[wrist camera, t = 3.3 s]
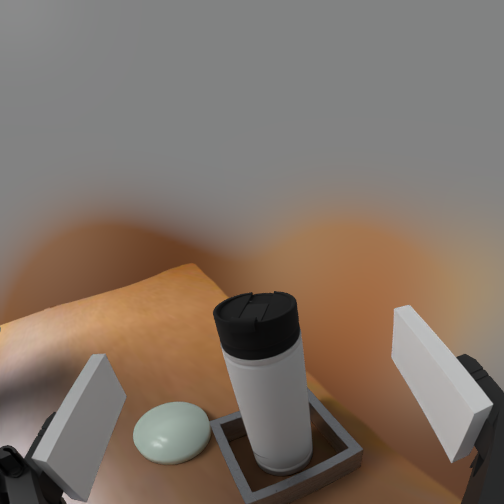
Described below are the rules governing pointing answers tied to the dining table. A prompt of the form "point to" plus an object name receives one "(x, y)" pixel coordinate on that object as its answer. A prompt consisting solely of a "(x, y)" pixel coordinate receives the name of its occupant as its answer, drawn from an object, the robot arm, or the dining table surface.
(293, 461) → the travel mug
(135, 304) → the dining table surface
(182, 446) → the disc
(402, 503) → the dining table surface
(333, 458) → the square frame
